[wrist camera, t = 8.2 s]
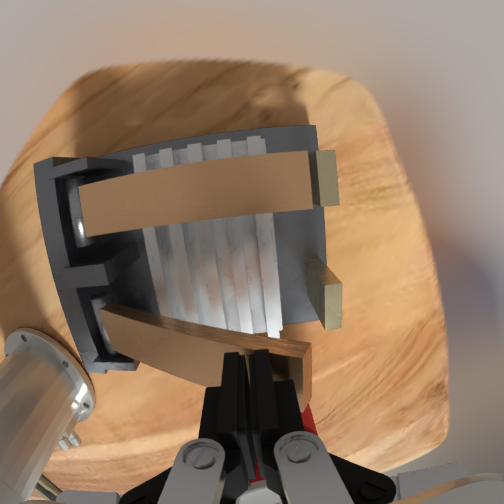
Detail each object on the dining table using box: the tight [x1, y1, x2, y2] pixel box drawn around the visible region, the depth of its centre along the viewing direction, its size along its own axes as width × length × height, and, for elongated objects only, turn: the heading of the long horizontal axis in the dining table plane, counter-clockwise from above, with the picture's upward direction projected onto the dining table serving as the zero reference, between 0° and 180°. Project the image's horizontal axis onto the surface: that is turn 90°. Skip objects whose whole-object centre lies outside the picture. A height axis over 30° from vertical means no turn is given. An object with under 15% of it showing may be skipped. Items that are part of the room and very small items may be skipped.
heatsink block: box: [34, 125, 342, 374], centre depth 18 cm, size 14×18×7 cm
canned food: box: [240, 405, 318, 504], centre depth 20 cm, size 8×8×11 cm
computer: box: [34, 474, 62, 501], centre depth 32 cm, size 16×8×3 cm, turn 21°
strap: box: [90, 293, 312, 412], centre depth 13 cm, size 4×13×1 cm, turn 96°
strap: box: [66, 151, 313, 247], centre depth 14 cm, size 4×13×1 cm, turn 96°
